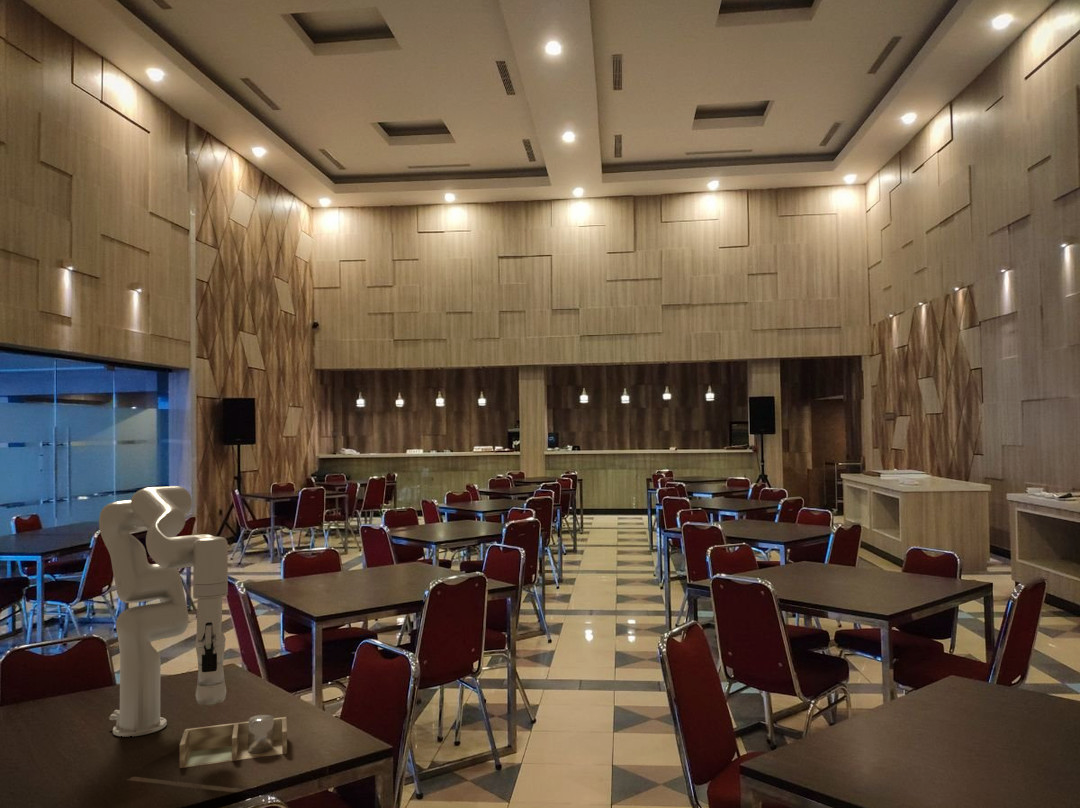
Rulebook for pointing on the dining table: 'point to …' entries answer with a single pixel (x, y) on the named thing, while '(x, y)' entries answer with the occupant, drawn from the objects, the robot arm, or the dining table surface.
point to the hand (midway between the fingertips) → (210, 667)
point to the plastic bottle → (211, 676)
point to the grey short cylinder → (260, 734)
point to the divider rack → (226, 743)
